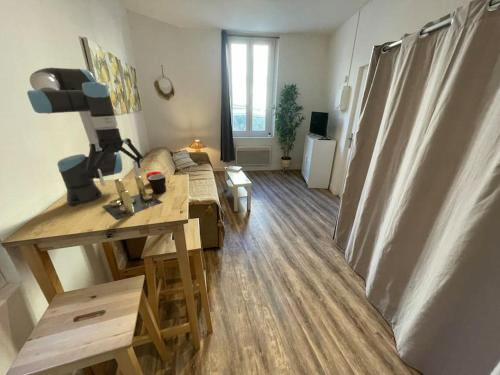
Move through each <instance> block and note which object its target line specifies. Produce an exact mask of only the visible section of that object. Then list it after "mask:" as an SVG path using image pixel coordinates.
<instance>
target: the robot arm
mask: <svg viewBox="0 0 500 375" xmlns="http://www.w3.org/2000/svg"><path fill="white" fill-rule="evenodd" d="M29 83H30V86H31V87H32V89H29V90H27V93H26V94H27V98H28V99H29V102H30V104H31V107H32V109H33V111H34V112H35V113H37V114H57V113H58V114H59V113H60V114H61V113H78V114H79V116H80V118H81V119H80V120H81V122H82V125H83V128H84V130H85V134H86V136H87V140H88V142H89V153H88V156H87V155H86V154H84V153H81V154H74V155H70V156H68V157H64V158H62V159H60V160H58V161H57V163H56V164H57V167H58V172H59V173H60V174H61V175H60V176H61V178H62V180H63V182H64V183H63V184H64V186H65V188H66V203H67V204H68V206H71V207H76V206H79V205H82V204H87V203H90V202H94V201H96V200H98V199H99V198H101V197H102V196H103V192H102V191H101V189H100V188H99V187H98V186H97V185H96V183H95V180H94V179H97V180H99V183H100V185H101V186H102V187H106V183H105V180H104V177H109V176H114V175H117V174H121V173H122V171H123V160H122V155H121V153H120V152H122V153H124V154H125V155H127V156H128V157H129V158H130V159H132V160H133V161H132V165H133V168H134V172H135V175H136V176H138V177H140V176H141V174H140V169H141V163H140V162H141V160H143V159H144V157H143V155H142V154H141V153H140V152H139V150H138V149H137V148H136V147H135V146H134V144H133V142H132V140H131V138H127V137H125V138H124V139H122V137H121V133H120V129H119V127H118V121H117V117H116V114H115V112H114V107H113V103H112V98H111V92H110V91H109V88H108V86H107V84H106V83H105V82H99V81H98V82H97V80H96V78H95V77H94V74H93V73H92V72H91V71H90V70H87V69H82V68H63V67H62V68H60V67H44V68H41V69H38V70H36V71H34V72H32V74H31V75H30V77H29ZM124 144H125V145H127V147H128V148H129V149H130V151H132V152H130V151H129V150H127V149H126V148H124V147H123V146H124ZM132 153H133V154H132ZM136 176H135V177H136Z"/></svg>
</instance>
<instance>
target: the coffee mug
mask: <svg viewBox="0 0 500 375" xmlns="http://www.w3.org/2000/svg"><path fill="white" fill-rule="evenodd" d="M148 179H149V181H148V182H150V183H149V184H150V187H151V190H152V192H153V194H154V195H161V194H164V193H166V192H167V183H166V182H167V181H166V175H165V174H163V173H162V174H156V175H152V176H150V177H148Z"/></svg>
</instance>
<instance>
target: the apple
mask: <svg viewBox="0 0 500 375" xmlns="http://www.w3.org/2000/svg"><path fill="white" fill-rule="evenodd" d="M156 174H163V173H162V172H161V171H150V172H147V173H146V176H145V177H146V179H147V181H148V182H149V179H148V177H150V176H152V175H156ZM149 184H150V182H149Z"/></svg>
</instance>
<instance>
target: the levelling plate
mask: <svg viewBox="0 0 500 375" xmlns="http://www.w3.org/2000/svg"><path fill="white" fill-rule="evenodd" d="M152 197H153V199H151V200H149V201H144V200H143V197H140V195H139V193H137V194H135V195H132V196H131V200H132V203H133V207H134V211H135V214H137V213H140V212H142V211H145V210H147V209H150V208H153V207H155V206H157V205H160V204H163V201H161V200H160V199H157V198H156V197H154V196H152ZM122 205H124V203H123V201H121V205H120V206H122ZM120 206H117V207H111V205H110V203H108V204H106V205H102V206H101V208H102V209H104V210H105V211H106V212H107V213H108V214H109V215H110V216H112V218H114V219H115V220H116V221H120V220H122V219H124V218H127V217H129V216H128V215H127V213H126V212H121V211H120Z"/></svg>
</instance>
